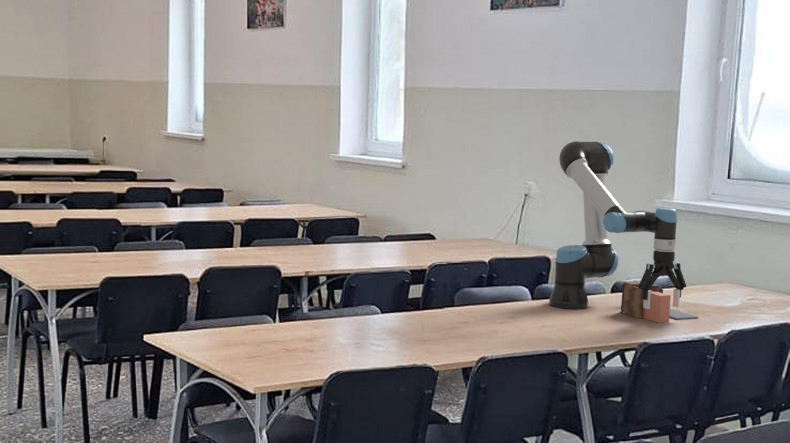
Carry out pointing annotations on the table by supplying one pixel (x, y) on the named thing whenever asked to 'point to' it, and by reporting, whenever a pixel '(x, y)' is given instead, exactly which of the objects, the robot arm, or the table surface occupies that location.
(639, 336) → the table surface
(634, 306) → the brown wooden slotted holder
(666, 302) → the salmon pink brick
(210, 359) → the table surface
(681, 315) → the pad
